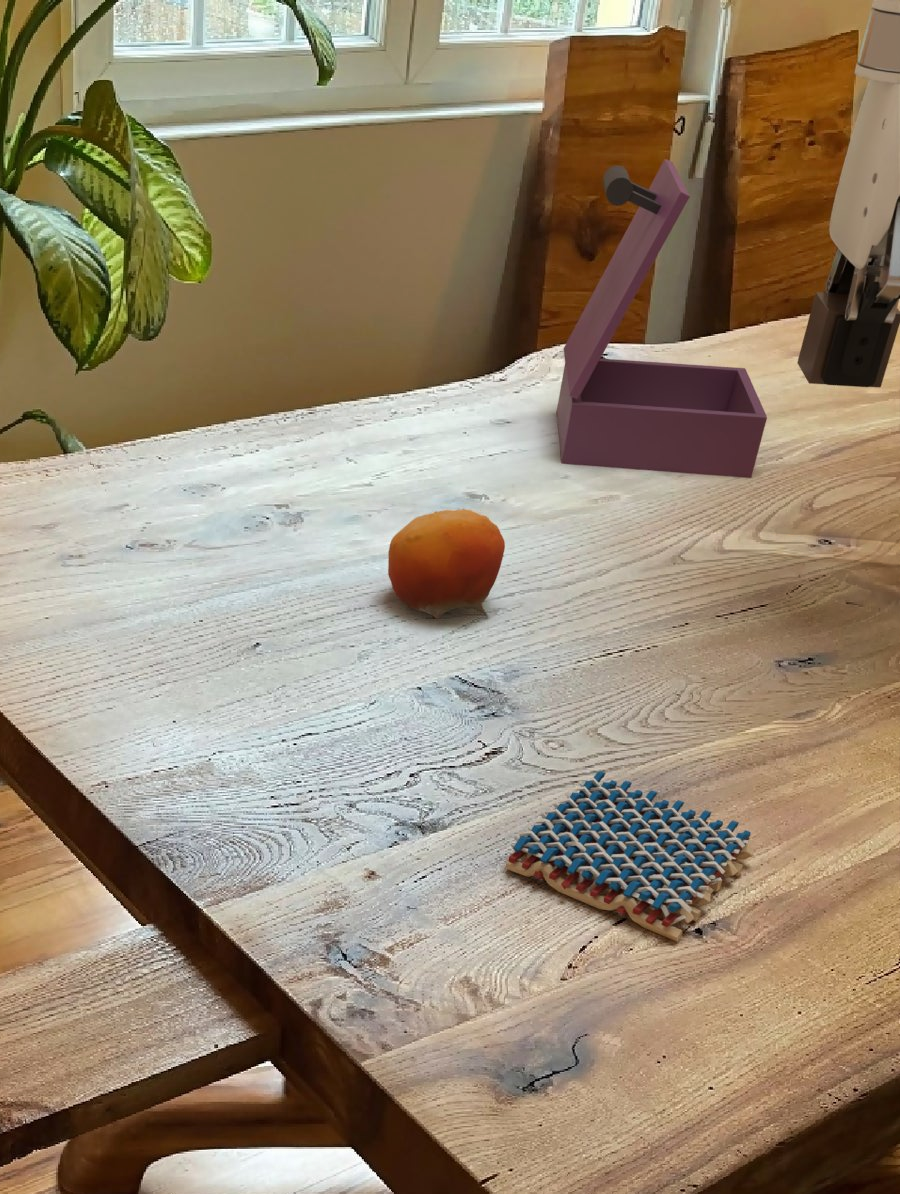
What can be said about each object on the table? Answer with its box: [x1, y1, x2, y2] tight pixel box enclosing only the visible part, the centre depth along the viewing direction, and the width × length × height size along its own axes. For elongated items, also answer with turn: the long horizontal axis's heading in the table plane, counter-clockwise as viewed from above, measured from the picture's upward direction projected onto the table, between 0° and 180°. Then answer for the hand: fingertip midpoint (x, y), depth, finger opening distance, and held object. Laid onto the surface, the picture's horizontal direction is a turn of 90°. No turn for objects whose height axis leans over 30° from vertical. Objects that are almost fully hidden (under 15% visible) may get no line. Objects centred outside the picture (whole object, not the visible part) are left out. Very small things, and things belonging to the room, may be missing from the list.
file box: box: [555, 358, 768, 479], centre depth 128 cm, size 16×14×7 cm
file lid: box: [563, 158, 691, 399], centre depth 121 cm, size 16×14×5 cm
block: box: [796, 291, 900, 388], centre depth 96 cm, size 4×4×4 cm
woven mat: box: [504, 770, 755, 943], centre depth 80 cm, size 10×11×2 cm
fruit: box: [387, 509, 506, 622], centre depth 104 cm, size 8×8×8 cm
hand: (839, 369), depth 97 cm, fingers closed on block, 4 cm apart
